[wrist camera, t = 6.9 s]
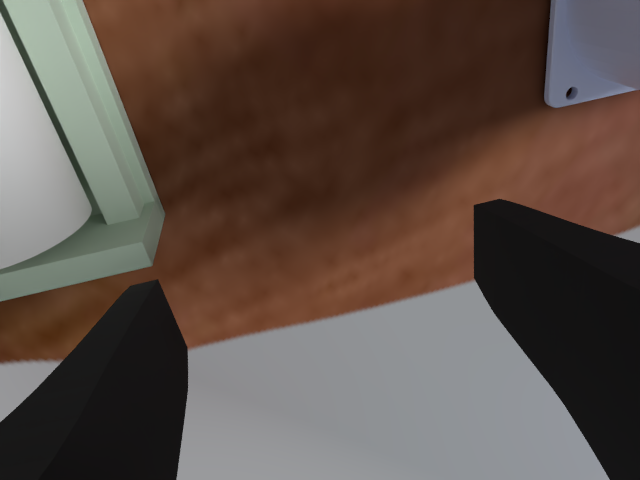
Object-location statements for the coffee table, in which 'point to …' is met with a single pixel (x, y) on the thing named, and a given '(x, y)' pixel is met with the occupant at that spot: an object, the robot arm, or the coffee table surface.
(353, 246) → the coffee table surface
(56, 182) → the roll
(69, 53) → the holder
